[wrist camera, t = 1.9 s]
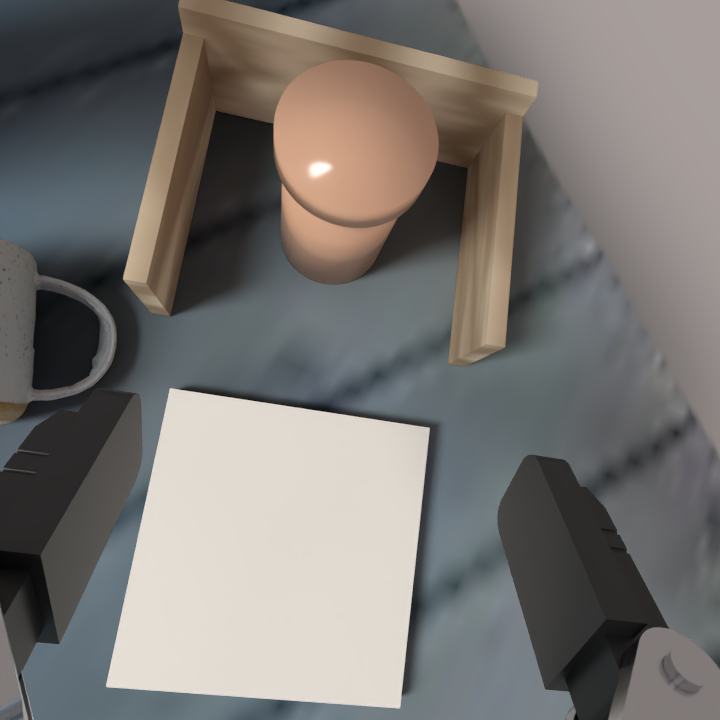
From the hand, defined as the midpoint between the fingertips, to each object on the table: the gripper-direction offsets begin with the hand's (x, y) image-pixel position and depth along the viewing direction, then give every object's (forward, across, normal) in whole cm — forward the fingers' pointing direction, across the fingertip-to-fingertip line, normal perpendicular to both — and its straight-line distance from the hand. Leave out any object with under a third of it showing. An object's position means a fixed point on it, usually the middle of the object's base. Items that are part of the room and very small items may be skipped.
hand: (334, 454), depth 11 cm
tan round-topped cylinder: (+22, 0, +3) cm, 22 cm away
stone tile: (+9, 0, +16) cm, 18 cm away
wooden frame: (+22, 0, +3) cm, 22 cm away
